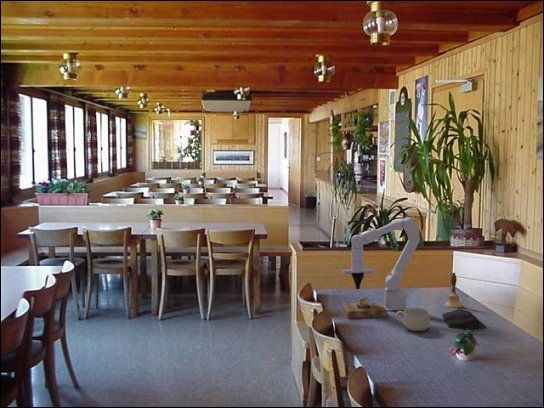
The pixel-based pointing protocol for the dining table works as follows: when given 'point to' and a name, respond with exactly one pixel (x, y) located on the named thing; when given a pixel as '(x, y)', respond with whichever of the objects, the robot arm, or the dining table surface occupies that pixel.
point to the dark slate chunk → (462, 320)
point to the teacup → (415, 318)
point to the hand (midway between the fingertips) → (357, 288)
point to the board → (364, 310)
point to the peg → (363, 302)
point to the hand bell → (453, 295)
